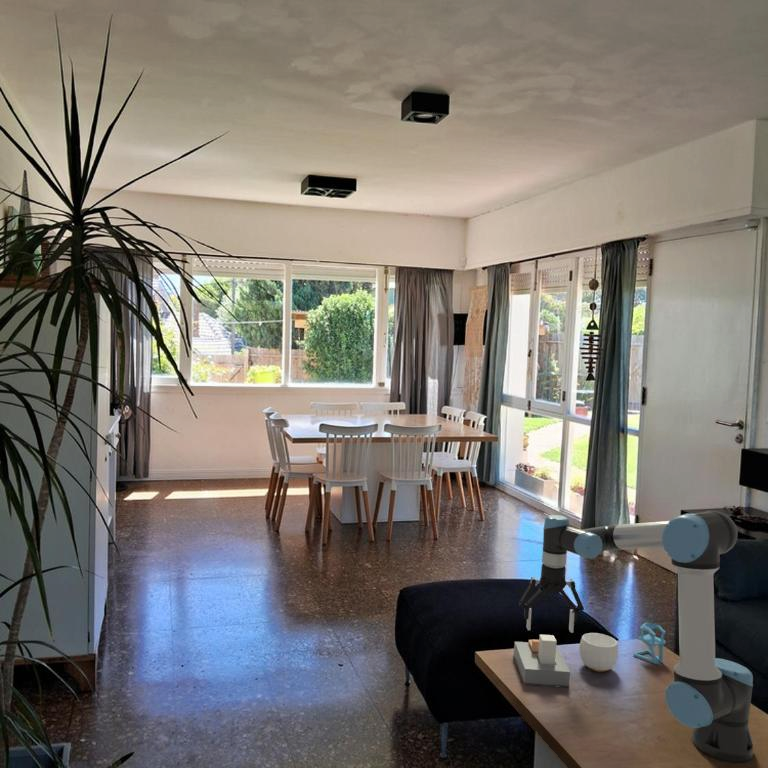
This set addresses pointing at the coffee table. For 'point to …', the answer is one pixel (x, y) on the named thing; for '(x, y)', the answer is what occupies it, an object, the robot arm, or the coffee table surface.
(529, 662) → the socket plate
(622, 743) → the coffee table surface
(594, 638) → the cup
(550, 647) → the white rectangular block
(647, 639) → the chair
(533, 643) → the block
